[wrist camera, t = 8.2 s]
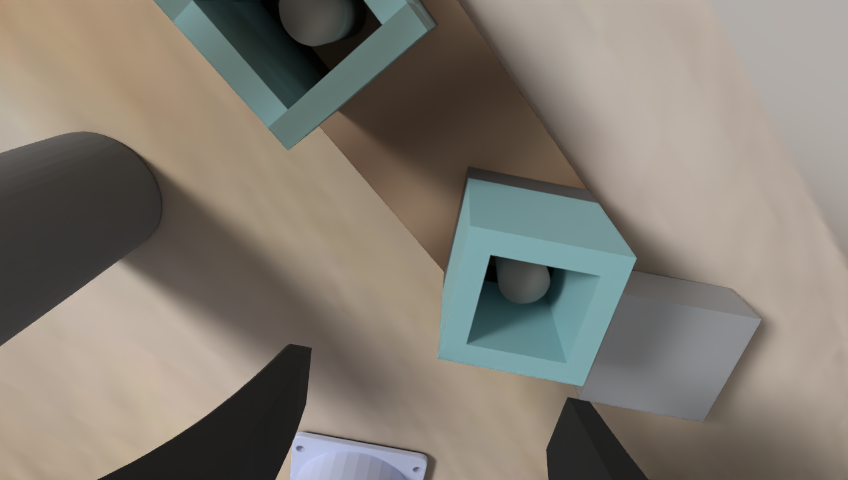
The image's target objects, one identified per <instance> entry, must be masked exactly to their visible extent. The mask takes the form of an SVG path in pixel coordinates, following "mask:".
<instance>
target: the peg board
mask: <svg viewBox="0 0 848 480" xmlns="http://www.w3.org/2000/svg"><path fill="white" fill-rule="evenodd" d="M154 2H155V3H156V4H157V5H158V6H159V7H160V8H161V9H162V11H163V12H164V13H165V14H166V15H167V16H168V17H169V18H170V19H171V21H172V22H173V23H174V24H175V25H176V26H177V27H178V28H179V29H180V31H181V32H182V33H183V34H184V35H185V36H186V37H187V38H188V40H189V41H190V42H191V43H192V44H193V45H194V46H195V47H196V48H197V50H198V51H199V52H200V53H201V54H202V55H203V56H204V57H205V59H206V60H207V61H208V62H209V63H210V64H211V65H212V66H213V67H214V69H215V70H216V71H217V72H218V73H219V74H220V75H221V76H222V77H223V79H224V80H225V81H226V82H227V83H228V84H229V85H230V86H231V88H232V89H233V90H234V91H235V92H236V93H237V94H238V95H239V96H240V98H241V99H242V100H243V101H244V102H245V103H246V104H247V105H248V106H249V108H250V109H251V110H252V111H253V112H254V113H255V114H256V115H257V117H258V118H259V119H260V120H261V121H262V122H263V123H264V124H265V125H266V127H267V128H268V129H269V130H270V131H271V132H272V133H273V134H274V135H275V137H276V138H277V139H278V140H279V141H280V142H281V143H282V144H283V146H284V147H285V148H286V149H287V150H289V149H290V148H292V147H293V146H294V145H296V144H297V143H298V142H299V141H301V140H302V139H303V138H304V137H306V136H307V135H308V134H309V133H311V132H312V131H313V130H314V129H316V128H317V127H318V126H320V127H321V129H322V130H323V131H324V132H325V133H326V135H327V136H328V137H329V138H330V139H331V140H332V142H333V143H334V144H335V145H336V146H337V147H338V149H339V150H340V151H341V152H342V153H343V154H344V156H345V157H346V158H347V159H348V160H349V161H350V163H351V164H352V165H353V166H354V167H355V168H356V170H357V171H358V172H359V173H360V174H361V175H362V177H363V178H364V179H365V180H366V181H367V182H368V184H369V185H370V186H371V187H372V188H373V189H374V191H375V192H376V193H377V194H378V195H379V196H380V198H381V199H382V200H383V201H384V202H385V203H386V205H387V206H388V207H389V208H390V209H391V210H392V212H393V213H394V214H395V215H396V216H397V217H398V219H399V220H400V221H401V222H402V223H403V224H404V226H405V227H406V228H407V229H408V230H409V231H410V233H411V234H412V235H413V236H414V237H415V239H416V240H417V241H418V242H419V243H420V244H421V246H422V247H423V248H424V249H425V250H426V251H427V253H428V254H429V255H430V256H431V257H432V258H433V260H434V261H435V262H436V263H437V264H438V265H439V267H440V268H441V269H442V270H443V271H445V266H446V262H447V258H448V253H449V249H450V244H451V240H452V236H453V231H454V227H455V222H456V218H457V213H458V209H459V205H460V200H461V196H462V191H463V187H464V182H465V178H466V174H467V169H468V167H473V168H478V169H484V170H489V171H494V172H499V173H504V174H509V175H514V176H519V177H525V178H530V179H535V180H540V181H545V182H550V183H555V184H560V185H566V186H571V187H576V188H581V189H586V187H585V186H584V184H583V183H582V181H581V180H580V178H579V177H578V175H577V174H576V173H575V171H574V170H573V168H572V167H571V165H570V164H569V162H568V161H567V159H566V158H565V156H564V155H563V154H562V152H561V151H560V149H559V148H558V146H557V145H556V143H555V142H554V140H553V139H552V137H551V136H550V135H549V133H548V132H547V130H546V129H545V127H544V126H543V124H542V123H541V121H540V120H539V119H538V117H537V116H536V114H535V113H534V111H533V110H532V108H531V107H530V105H529V104H528V102H527V101H526V100H525V98H524V97H523V95H522V94H521V92H520V91H519V89H518V88H517V86H516V85H515V83H514V82H513V81H512V79H511V78H510V76H509V75H508V73H507V72H506V70H505V69H504V67H503V66H502V65H501V63H500V62H499V60H498V59H497V57H496V56H495V54H494V53H493V51H492V50H491V48H490V47H489V46H488V44H487V43H486V41H485V40H484V38H483V37H482V35H481V34H480V32H479V31H478V29H477V28H476V27H475V25H474V24H473V22H472V21H471V19H470V18H469V16H468V15H467V13H466V12H465V10H464V9H463V8H462V6H461V5H460V3H459V2H458V0H154ZM586 190H587V189H586ZM488 265H493V266H496V269H497V277H498V284H499V289H500V291H501V293H502V294H503V295H504V296H505V297H506V298H507V299H508V300H510V301H512V302H515V303H522V304H524V303H531V302H534V301H536V300H538V299H540V298H541V297H542V296H543V295H544V294H545V293H546V292H547V290H548V288H549V285H550V276H549V273H548V270H547V266H546V265H541V264H536V263H530V262H525V261H520V260H515V259H510V258H504V257H499V256H494V255H490V258H489V262H488Z"/></svg>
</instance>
